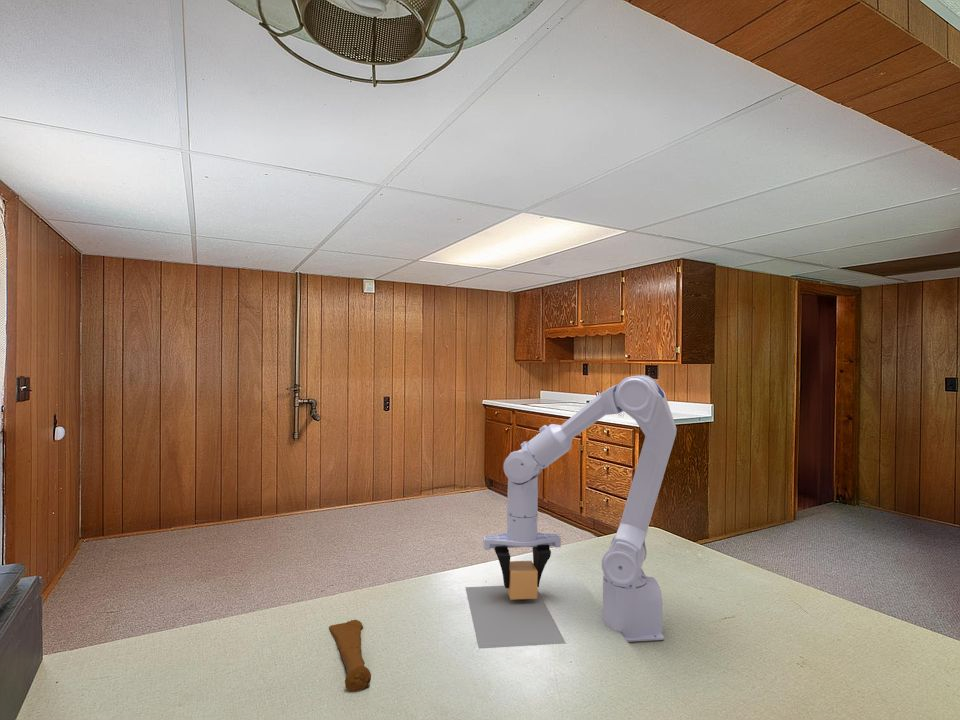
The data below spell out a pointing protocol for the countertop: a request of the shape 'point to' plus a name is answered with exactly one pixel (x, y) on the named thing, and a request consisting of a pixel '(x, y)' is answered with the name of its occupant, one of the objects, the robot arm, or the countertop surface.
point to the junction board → (510, 619)
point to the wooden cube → (522, 580)
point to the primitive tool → (351, 653)
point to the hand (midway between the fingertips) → (521, 585)
